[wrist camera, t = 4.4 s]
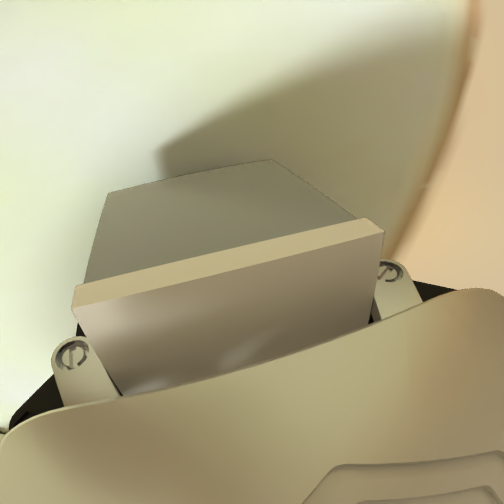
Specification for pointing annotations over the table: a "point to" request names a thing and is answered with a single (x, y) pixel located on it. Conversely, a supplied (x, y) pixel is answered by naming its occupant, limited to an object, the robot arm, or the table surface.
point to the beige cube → (221, 274)
